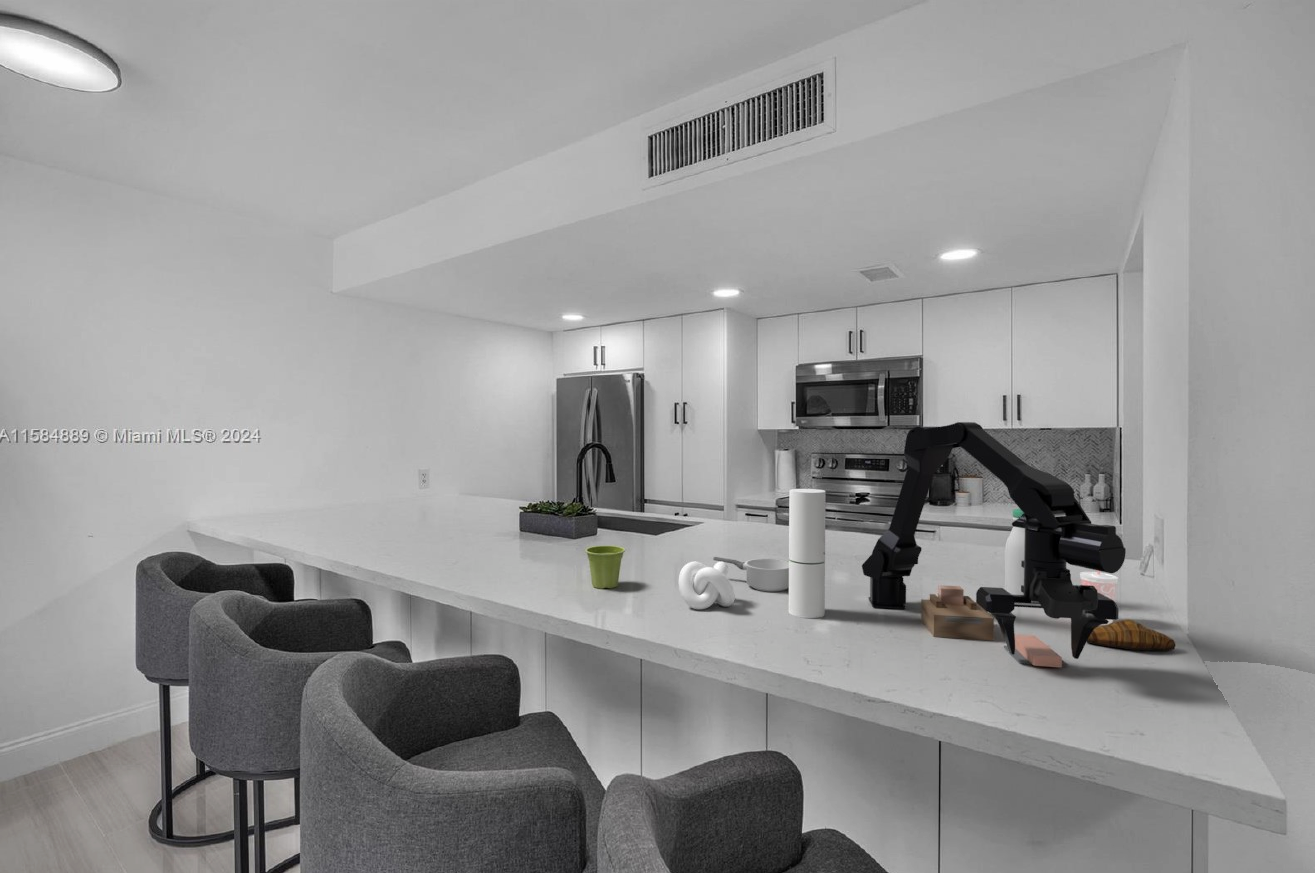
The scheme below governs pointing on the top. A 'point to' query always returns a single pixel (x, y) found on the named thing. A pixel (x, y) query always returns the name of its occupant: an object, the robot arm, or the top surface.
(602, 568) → the plant pot
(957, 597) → the dispenser
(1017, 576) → the milk bottle
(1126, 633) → the croissant
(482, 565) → the top surface
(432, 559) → the top surface
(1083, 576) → the beverage cup
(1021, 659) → the pad
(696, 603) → the white decorative knot
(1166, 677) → the top surface
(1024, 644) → the salmon pink rectangular block
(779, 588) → the saucepan
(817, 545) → the cylindrical container
